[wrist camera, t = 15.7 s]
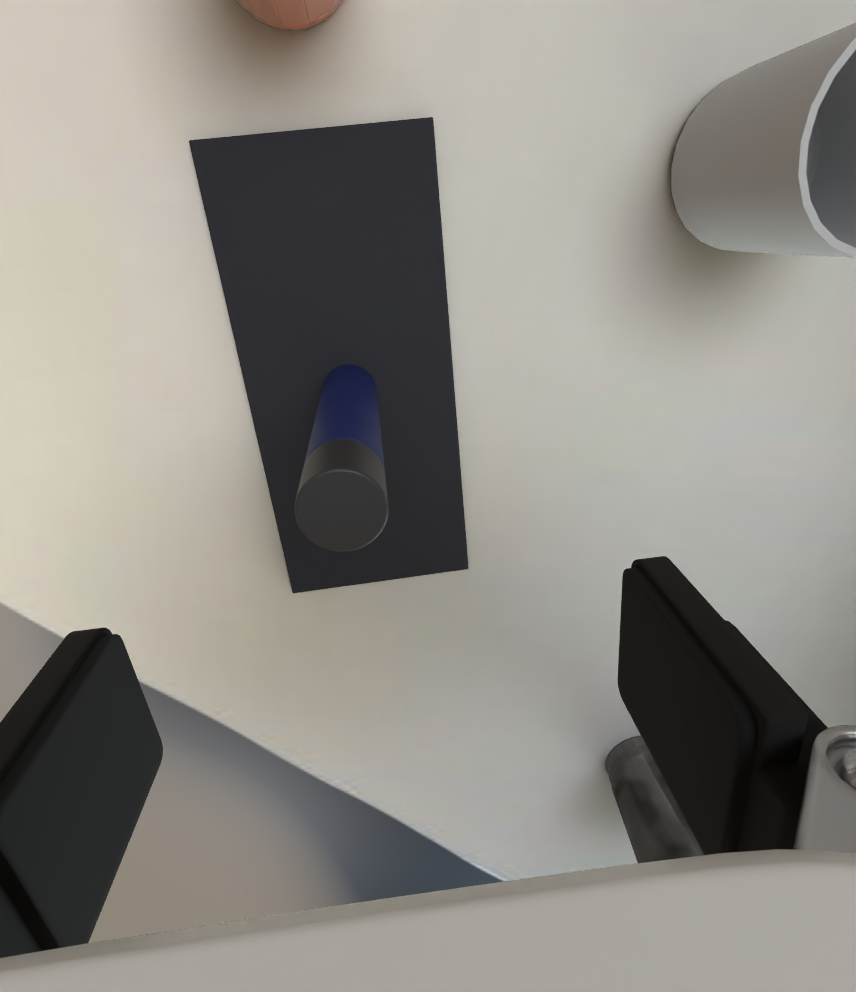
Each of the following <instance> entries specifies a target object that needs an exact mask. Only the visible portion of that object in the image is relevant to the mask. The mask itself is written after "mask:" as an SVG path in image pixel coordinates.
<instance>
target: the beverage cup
mask: <svg viewBox="0 0 856 992" xmlns="http://www.w3.org/2000/svg"><path fill="white" fill-rule="evenodd" d="M606 770H607V772H608V774H609V778H610V782H611V785H612V790H613V793H614V796H615V799H616V802H617V805H618V807H619V810H620V813H621V816H622V819H623V822H624V824H625V827H626V830H627V833H628V836H629V839H630V842H631V844H632V847H633V850H634V853H635V856H636V859H637V862H638V863H645V862H654V861H662V860H670V859H678V858H686V857H695V856H703V855H704V853H703V851H702V849H701V848H700V846H699V844H698V842H697V840H696V838H695V836H694V834H693V832H692V831H691V829H690V827H689V825H688V823H687V821H686V819H685V817H684V815H683V814H682V812H681V810H680V808H679V806H678V804H677V802H676V800H675V798H674V797H673V795H672V793H671V791H670V789H669V787H668V785H667V783H666V781H665V780H664V778H663V776H662V774H661V772H660V770H659V768H658V766H657V764H656V763H655V761H654V759H653V757H652V755H651V753H650V751H649V749H648V747H647V745H646V744H645V742H644V740H643V738H642V736H639V737H634V738H630V739H628V740H626V741H623V742H622V743H620V744H619V745H617V746H616V747H615V748H614V749H613V750H612V751H611V752H610V754H609V755H608V758H607V760H606Z"/></svg>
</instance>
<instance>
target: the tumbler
mask: <svg viewBox="0 0 856 992" xmlns="http://www.w3.org/2000/svg"><path fill="white" fill-rule="evenodd" d="M342 1H343V0H237V2H238V3H239V4H240V5H241V6H242V7H243V8H244V9H245V10H246V11H247V12H248V13H250V14H251V15H252V16H253V17H255V18H256V19H258V20H259V21H261V22H263V23H265V24H267V25H269V26H272V27H275V28H278V29H284V30H302V29H307V28H310V27H313V26H315V25H317V24H319V23H321V22H323V21H324V20H325V19H327V18H328V17H329V16H330V15H331V14H332V13H333V12H334V11H335V10H336V9H337V8H338V7H339V5H340V4H341V2H342Z"/></svg>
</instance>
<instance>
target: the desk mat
mask: <svg viewBox="0 0 856 992" xmlns="http://www.w3.org/2000/svg"><path fill="white" fill-rule="evenodd" d="M189 143H190V148H191V152H192V156H193V161H194V165H195V169H196V174H197V178H198V183H199V187H200V191H201V196H202V200H203V204H204V209H205V213H206V217H207V222H208V226H209V230H210V235H211V239H212V243H213V248H214V252H215V256H216V261H217V265H218V270H219V274H220V278H221V283H222V287H223V291H224V296H225V300H226V304H227V309H228V313H229V317H230V322H231V326H232V330H233V335H234V339H235V344H236V348H237V352H238V357H239V361H240V365H241V370H242V374H243V378H244V383H245V387H246V391H247V396H248V400H249V404H250V409H251V413H252V417H253V422H254V426H255V431H256V435H257V439H258V444H259V448H260V452H261V457H262V461H263V465H264V470H265V474H266V478H267V483H268V487H269V491H270V496H271V500H272V505H273V509H274V513H275V518H276V522H277V526H278V531H279V535H280V539H281V544H282V548H283V552H284V557H285V561H286V565H287V570H288V574H289V578H290V583H291V587H292V592H293V593H298V592H306V591H313V590H320V589H327V588H334V587H341V586H349V585H356V584H363V583H370V582H377V581H385V580H392V579H399V578H406V577H413V576H421V575H428V574H435V573H442V572H449V571H456V570H464V569H468V558H467V545H466V532H465V519H464V507H463V494H462V481H461V468H460V456H459V443H458V430H457V418H456V405H455V392H454V379H453V367H452V354H451V341H450V328H449V316H448V303H447V290H446V277H445V265H444V252H443V239H442V227H441V214H440V201H439V188H438V176H437V163H436V150H435V137H434V125H433V118H432V117H430V118H420V119H409V120H399V121H388V122H378V123H367V124H357V125H347V126H336V127H326V128H315V129H305V130H294V131H284V132H274V133H263V134H253V135H242V136H232V137H221V138H211V139H201V140H190V141H189ZM342 365H356V366H359V367H361V368H363V369H365V370H366V371H367V372H368V373H369V374H370V375H371V376H372V378H373V380H374V382H375V384H376V390H377V400H378V410H379V419H380V429H381V439H382V449H383V458H384V468H385V478H386V488H387V497H388V509H389V511H388V518H387V522H386V524H385V527H384V528H383V530H382V532H381V533H380V534H379V535H378V537H377V538H376V539H374V540H373V541H372V542H371V543H369V544H368V545H366V546H364V547H362V548H359V549H356V550H352V551H344V552H341V551H331V550H328V549H325V548H322V547H320V546H318V545H316V544H314V543H313V542H312V541H310V540H309V539H308V538H307V537H306V536H305V535H304V533H303V532H302V531H301V529H300V528H299V526H298V523H297V521H296V517H295V500H296V496H297V492H298V488H299V484H300V479H301V475H302V471H303V467H304V463H305V459H306V454H307V450H308V446H309V442H310V438H311V433H312V429H313V425H314V421H315V417H316V413H317V408H318V404H319V400H320V396H321V392H322V387H323V383H324V380H325V378H326V377H327V375H328V374H329V373H330V372H331V371H332V370H333V369H335V368H337V367H339V366H342Z"/></svg>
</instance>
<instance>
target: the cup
mask: <svg viewBox="0 0 856 992" xmlns="http://www.w3.org/2000/svg"><path fill="white" fill-rule="evenodd" d="M671 192H672V196H673V200H674V204H675V207H676V211H677V213H678V215H679V217H680V219H681V220H682V222H683V224H684V226H685V227H686V229H687V230H688V231H689V232H690V233H691V234H692V235H693V236H695V237H696V238H697V239H698V240H699V241H700V242H702V243H705V244H707V245H709V246H712V247H714V248H716V249H721V250H728V251H740V252H756V253H774V254H792V255H810V256H828V257H847V258H856V23H854V24H852V25H850V26H847V27H845V28H842V29H840V30H838V31H835V32H833V33H831V34H828V35H826V36H823V37H821V38H819V39H816V40H814V41H811V42H809V43H807V44H804V45H802V46H800V47H797V48H795V49H792V50H790V51H788V52H785V53H783V54H780V55H778V56H776V57H773V58H771V59H768V60H766V61H764V62H761V63H759V64H757V65H754V66H752V67H750V68H748V69H746V70H744V71H742V72H740V73H738V74H736V75H735V76H733V77H731V78H729V79H727V80H725V81H724V82H722V83H720V84H719V85H718V86H717V87H716V88H715V89H713V90H712V91H711V92H710V93H709V94H708V95H707V96H705V97H704V98H703V99H702V100H701V102H700V103H699V104H698V106H697V107H696V109H695V110H694V111H693V113H692V114H691V116H690V117H689V118H688V120H687V121H686V124H685V126H684V128H683V130H682V133H681V135H680V137H679V139H678V142H677V144H676V148H675V153H674V158H673V162H672V167H671Z"/></svg>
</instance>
